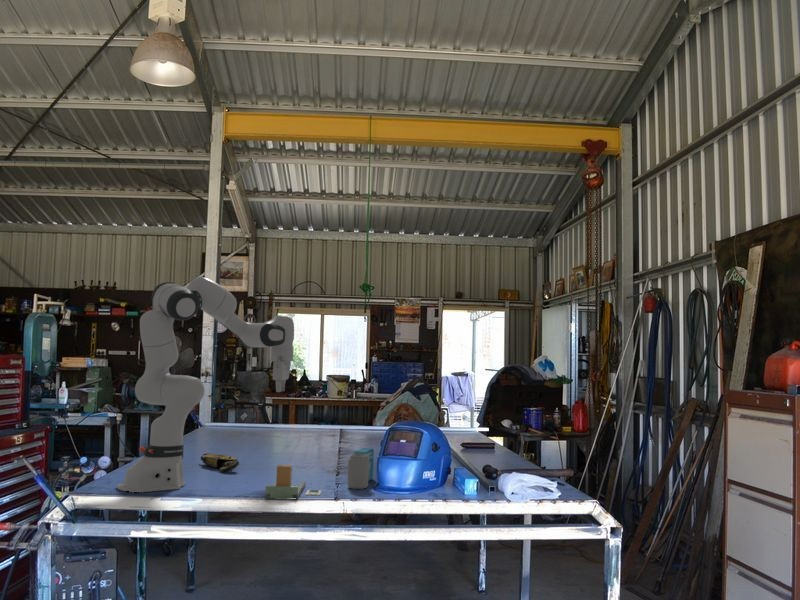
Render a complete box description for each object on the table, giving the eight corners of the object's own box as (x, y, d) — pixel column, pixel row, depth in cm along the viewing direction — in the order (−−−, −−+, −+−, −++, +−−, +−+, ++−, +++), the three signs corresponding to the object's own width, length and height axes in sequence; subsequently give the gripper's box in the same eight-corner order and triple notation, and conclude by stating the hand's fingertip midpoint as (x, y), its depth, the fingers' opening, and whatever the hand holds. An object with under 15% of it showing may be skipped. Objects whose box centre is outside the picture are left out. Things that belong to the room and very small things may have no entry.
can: (370, 487, 244) (371, 454, 245) (364, 490, 237) (365, 456, 238) (351, 485, 246) (352, 452, 247) (344, 489, 239) (345, 455, 240)
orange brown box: (277, 494, 225) (278, 464, 226) (290, 495, 225) (292, 464, 226) (275, 497, 221) (276, 466, 222) (289, 497, 221) (290, 466, 222)
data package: (364, 484, 250) (365, 451, 251) (352, 483, 251) (353, 451, 252) (372, 479, 261) (373, 448, 263) (361, 478, 263) (363, 447, 264)
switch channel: (276, 485, 242) (277, 473, 243) (323, 486, 243) (324, 475, 243) (265, 498, 218) (265, 486, 218) (317, 499, 219) (318, 487, 219)
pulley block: (214, 458, 261) (200, 448, 288) (211, 473, 260) (197, 462, 287) (249, 462, 267) (232, 452, 294) (246, 477, 266) (229, 466, 293)
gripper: (286, 356, 254) (284, 392, 252) (293, 357, 274) (291, 390, 273) (269, 355, 254) (267, 392, 252) (277, 356, 274) (276, 390, 273)
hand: (280, 391), depth 263 cm, fingers open, 8 cm apart
